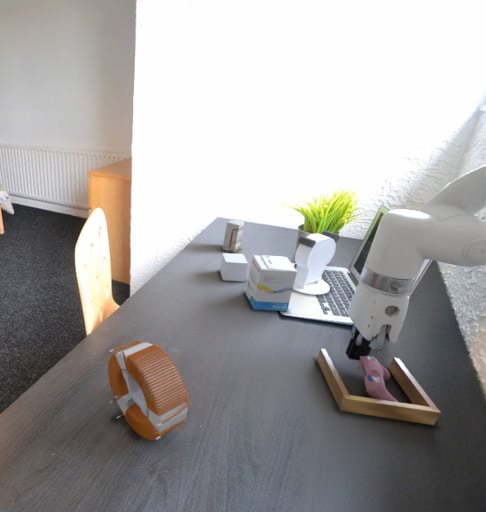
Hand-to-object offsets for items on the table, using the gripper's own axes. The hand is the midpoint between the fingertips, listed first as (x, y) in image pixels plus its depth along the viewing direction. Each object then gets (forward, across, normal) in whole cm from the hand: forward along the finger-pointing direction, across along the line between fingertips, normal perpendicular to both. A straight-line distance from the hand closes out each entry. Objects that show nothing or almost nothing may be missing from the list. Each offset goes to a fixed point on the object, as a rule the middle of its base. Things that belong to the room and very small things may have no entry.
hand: (355, 357), depth 74 cm
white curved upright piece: (+2, +34, 0) cm, 34 cm away
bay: (+2, -6, 0) cm, 7 cm away
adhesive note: (+3, +35, +20) cm, 40 cm away
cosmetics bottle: (+2, +55, +18) cm, 58 cm away
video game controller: (+2, -7, -1) cm, 7 cm away
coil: (+3, -24, +40) cm, 47 cm away
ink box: (+2, +22, +13) cm, 25 cm away
